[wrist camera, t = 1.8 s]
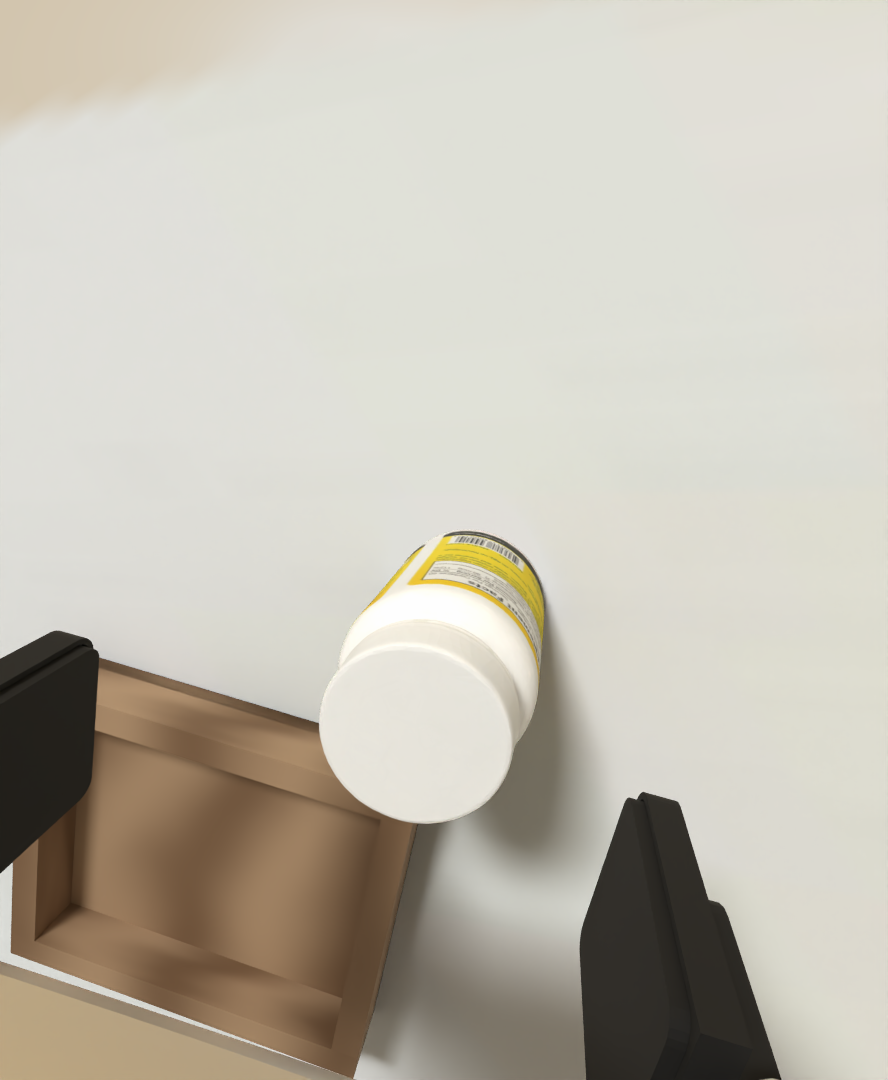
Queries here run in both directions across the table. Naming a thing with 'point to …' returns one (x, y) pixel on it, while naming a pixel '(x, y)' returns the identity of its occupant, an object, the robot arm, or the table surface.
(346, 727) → the supplement bottle
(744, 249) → the table surface
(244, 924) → the tray
